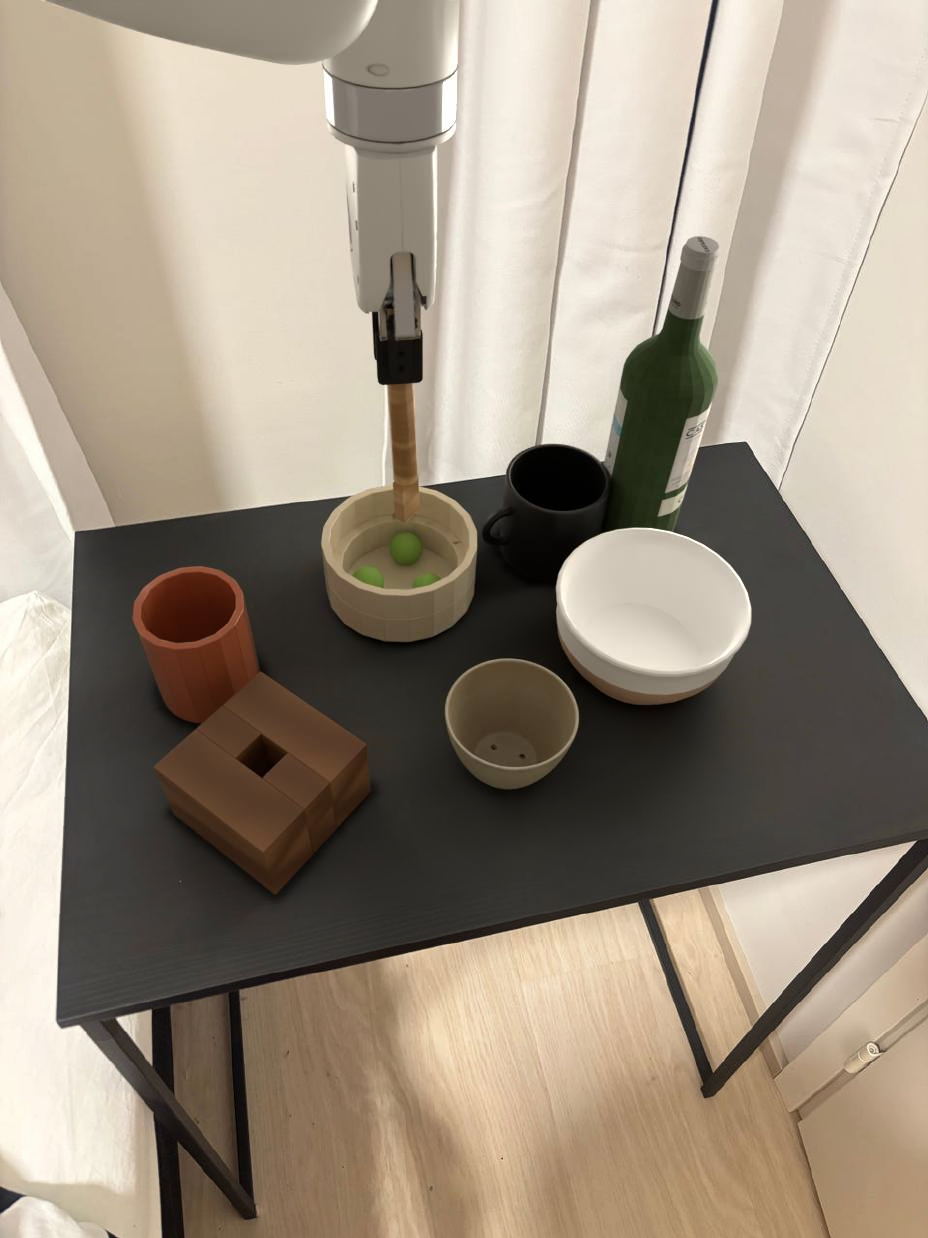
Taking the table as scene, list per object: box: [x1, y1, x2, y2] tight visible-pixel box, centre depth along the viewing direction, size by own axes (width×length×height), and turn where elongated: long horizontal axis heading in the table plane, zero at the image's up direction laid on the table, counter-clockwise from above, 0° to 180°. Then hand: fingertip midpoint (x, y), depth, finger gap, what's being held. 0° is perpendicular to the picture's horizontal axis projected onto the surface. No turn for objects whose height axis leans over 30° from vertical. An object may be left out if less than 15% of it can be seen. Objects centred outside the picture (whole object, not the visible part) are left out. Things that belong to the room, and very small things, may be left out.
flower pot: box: [444, 658, 580, 790], centre depth 71 cm, size 10×10×7 cm
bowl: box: [555, 528, 752, 706], centre depth 79 cm, size 16×16×8 cm
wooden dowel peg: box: [386, 309, 420, 522], centre depth 70 cm, size 2×2×20 cm
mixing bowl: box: [320, 484, 478, 643], centre depth 83 cm, size 13×13×7 cm
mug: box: [481, 443, 610, 582], centre depth 86 cm, size 9×12×9 cm
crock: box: [132, 565, 261, 724], centre depth 74 cm, size 8×8×10 cm
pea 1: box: [352, 567, 384, 588], centre depth 83 cm, size 3×3×3 cm
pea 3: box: [412, 573, 441, 589], centre depth 82 cm, size 3×3×3 cm
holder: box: [153, 671, 371, 896], centre depth 68 cm, size 11×11×7 cm
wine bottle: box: [601, 235, 721, 534], centre depth 80 cm, size 8×8×30 cm
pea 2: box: [390, 532, 422, 564], centre depth 86 cm, size 3×3×3 cm
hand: (398, 368), depth 67 cm, fingers closed on wooden dowel peg, 2 cm apart
